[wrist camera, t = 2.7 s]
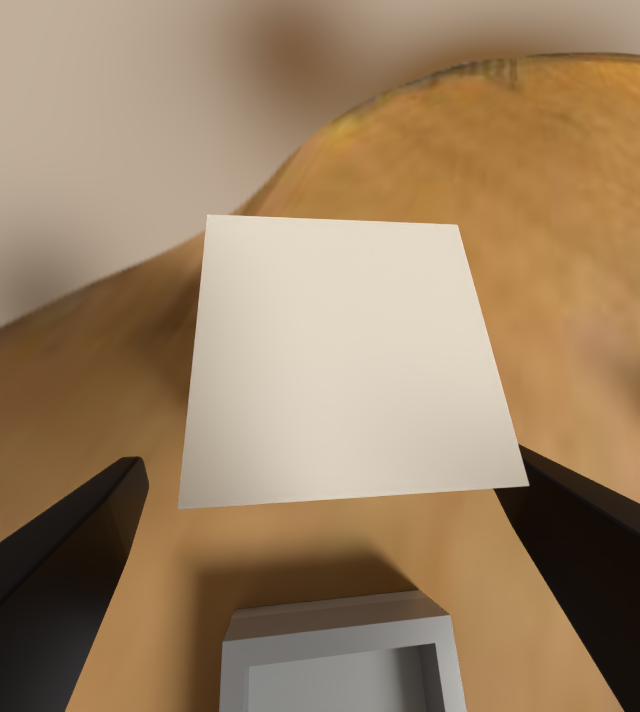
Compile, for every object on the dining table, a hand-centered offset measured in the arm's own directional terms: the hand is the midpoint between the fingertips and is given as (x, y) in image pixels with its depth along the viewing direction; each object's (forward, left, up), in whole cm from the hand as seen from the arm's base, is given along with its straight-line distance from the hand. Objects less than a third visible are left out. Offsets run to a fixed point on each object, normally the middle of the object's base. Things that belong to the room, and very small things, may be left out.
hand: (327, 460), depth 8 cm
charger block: (+1, -1, -9) cm, 9 cm away
